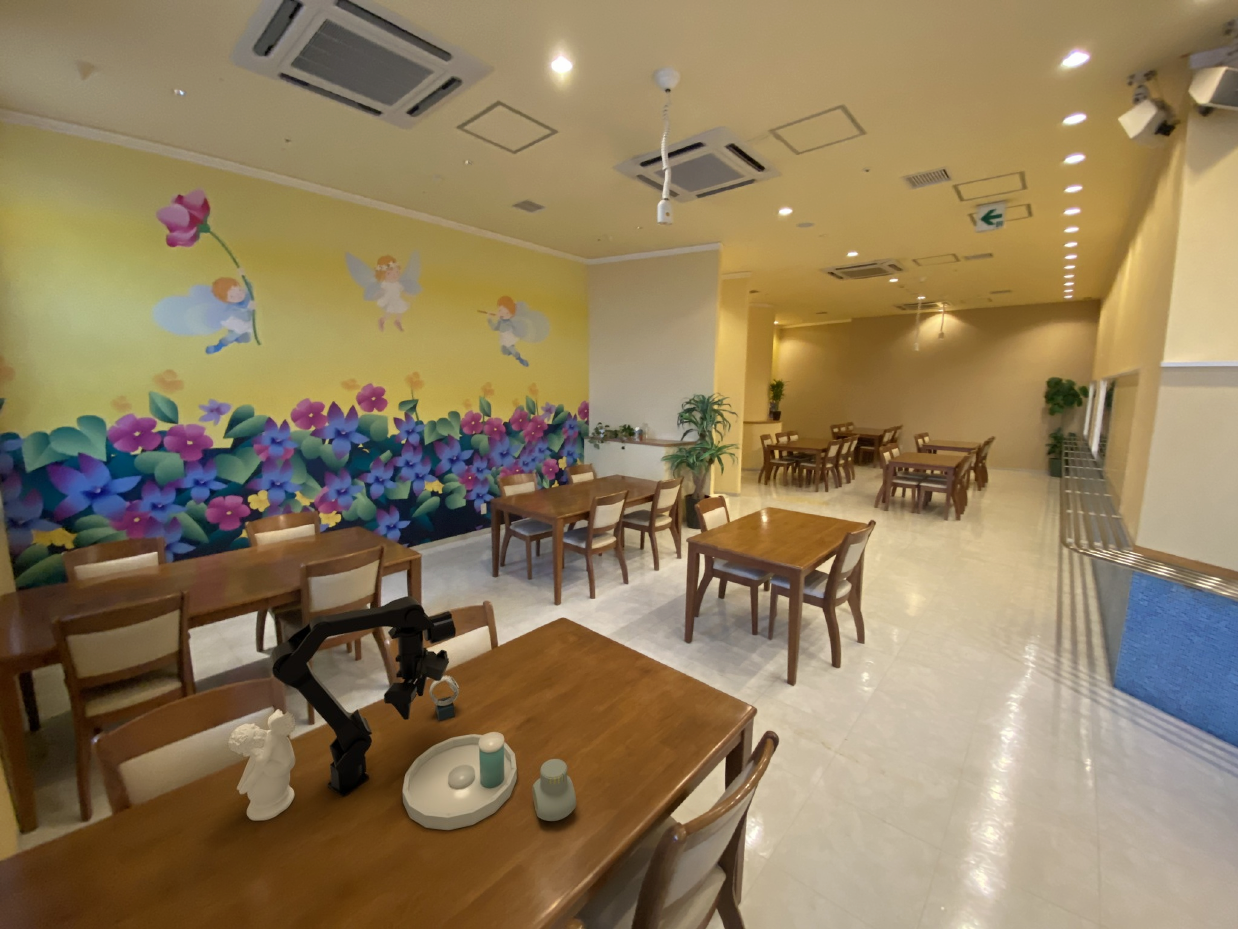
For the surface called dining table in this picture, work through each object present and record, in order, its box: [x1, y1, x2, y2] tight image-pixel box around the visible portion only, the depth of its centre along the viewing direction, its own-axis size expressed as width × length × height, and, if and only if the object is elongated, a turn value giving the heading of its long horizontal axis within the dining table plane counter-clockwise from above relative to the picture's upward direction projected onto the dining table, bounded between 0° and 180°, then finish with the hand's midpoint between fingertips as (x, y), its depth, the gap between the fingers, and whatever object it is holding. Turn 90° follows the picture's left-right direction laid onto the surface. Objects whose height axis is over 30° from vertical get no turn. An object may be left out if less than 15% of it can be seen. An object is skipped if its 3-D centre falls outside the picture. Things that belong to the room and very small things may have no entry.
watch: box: [428, 674, 460, 722], centre depth 140 cm, size 6×8×11 cm
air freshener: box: [531, 758, 577, 822], centre depth 109 cm, size 11×8×10 cm
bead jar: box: [479, 731, 505, 788], centre depth 116 cm, size 6×6×10 cm
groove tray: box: [402, 733, 518, 831], centre depth 116 cm, size 25×25×3 cm
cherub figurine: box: [227, 708, 296, 821], centre depth 110 cm, size 12×12×22 cm
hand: (413, 707), depth 123 cm, fingers open, 9 cm apart
